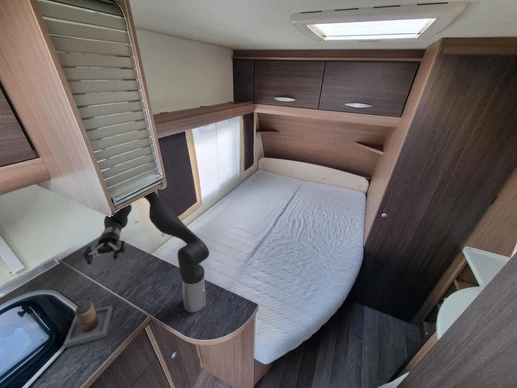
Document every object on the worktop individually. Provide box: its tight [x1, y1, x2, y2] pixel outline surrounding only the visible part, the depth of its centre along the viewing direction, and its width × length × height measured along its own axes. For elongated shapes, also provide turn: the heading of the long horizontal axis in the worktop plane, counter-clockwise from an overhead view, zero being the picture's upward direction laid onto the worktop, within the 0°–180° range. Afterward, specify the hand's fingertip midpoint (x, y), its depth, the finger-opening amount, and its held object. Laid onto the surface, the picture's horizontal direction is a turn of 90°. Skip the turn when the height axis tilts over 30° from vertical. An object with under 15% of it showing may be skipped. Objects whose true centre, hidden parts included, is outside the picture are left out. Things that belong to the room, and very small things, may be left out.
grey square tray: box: [63, 305, 113, 349], centre depth 80 cm, size 12×12×2 cm
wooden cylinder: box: [74, 301, 99, 332], centre depth 78 cm, size 5×5×11 cm
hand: (101, 260), depth 84 cm, fingers open, 8 cm apart
